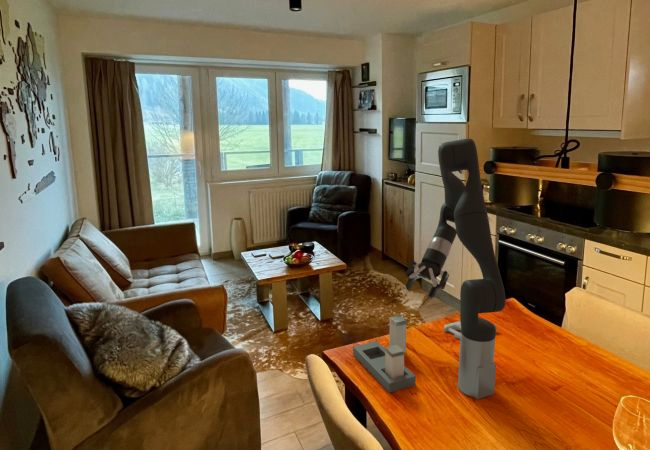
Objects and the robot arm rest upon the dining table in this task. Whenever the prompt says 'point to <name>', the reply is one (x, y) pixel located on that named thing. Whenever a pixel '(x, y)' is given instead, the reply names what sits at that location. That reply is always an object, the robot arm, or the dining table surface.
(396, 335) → the plug
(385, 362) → the two-hole peg board
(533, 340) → the dining table surface
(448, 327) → the gun
